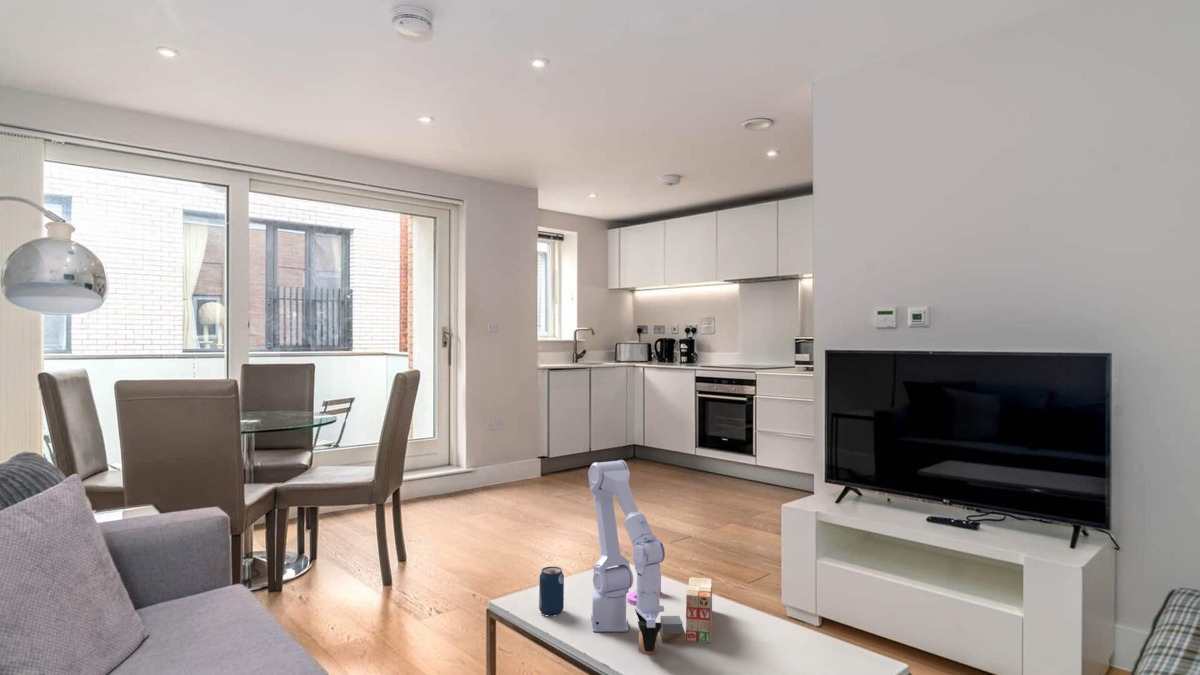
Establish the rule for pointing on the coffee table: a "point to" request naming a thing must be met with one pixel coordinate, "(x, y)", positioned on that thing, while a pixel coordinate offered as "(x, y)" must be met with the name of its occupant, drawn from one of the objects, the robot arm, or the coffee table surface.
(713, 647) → the coffee table surface
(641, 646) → the terracotta cylinder
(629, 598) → the bracket
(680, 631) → the tower top
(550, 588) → the soda can
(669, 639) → the tower base
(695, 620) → the stack of blocks
